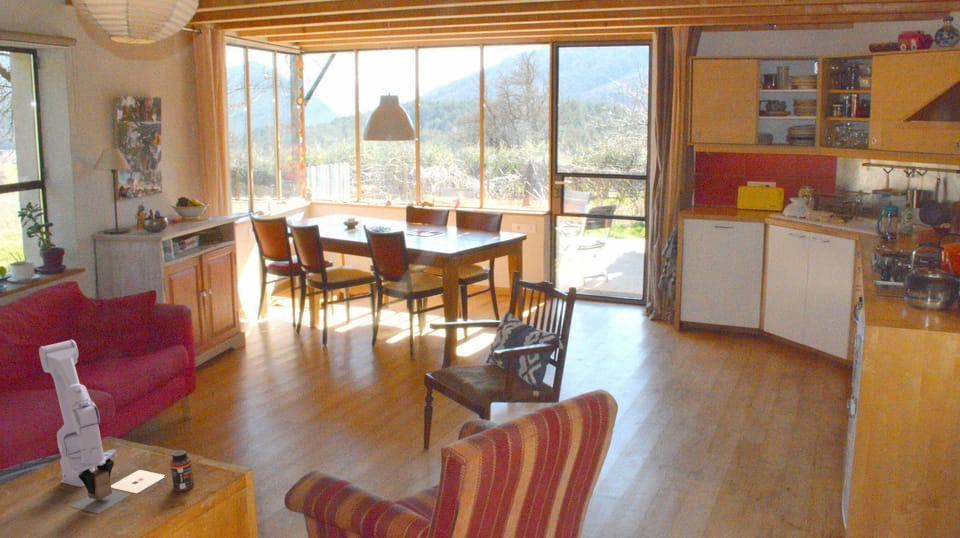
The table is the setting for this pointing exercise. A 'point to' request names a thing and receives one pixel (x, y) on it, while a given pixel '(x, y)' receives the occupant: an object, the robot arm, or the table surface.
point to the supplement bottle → (181, 471)
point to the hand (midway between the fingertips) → (98, 489)
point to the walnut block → (101, 485)
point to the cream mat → (137, 481)
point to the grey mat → (100, 502)
